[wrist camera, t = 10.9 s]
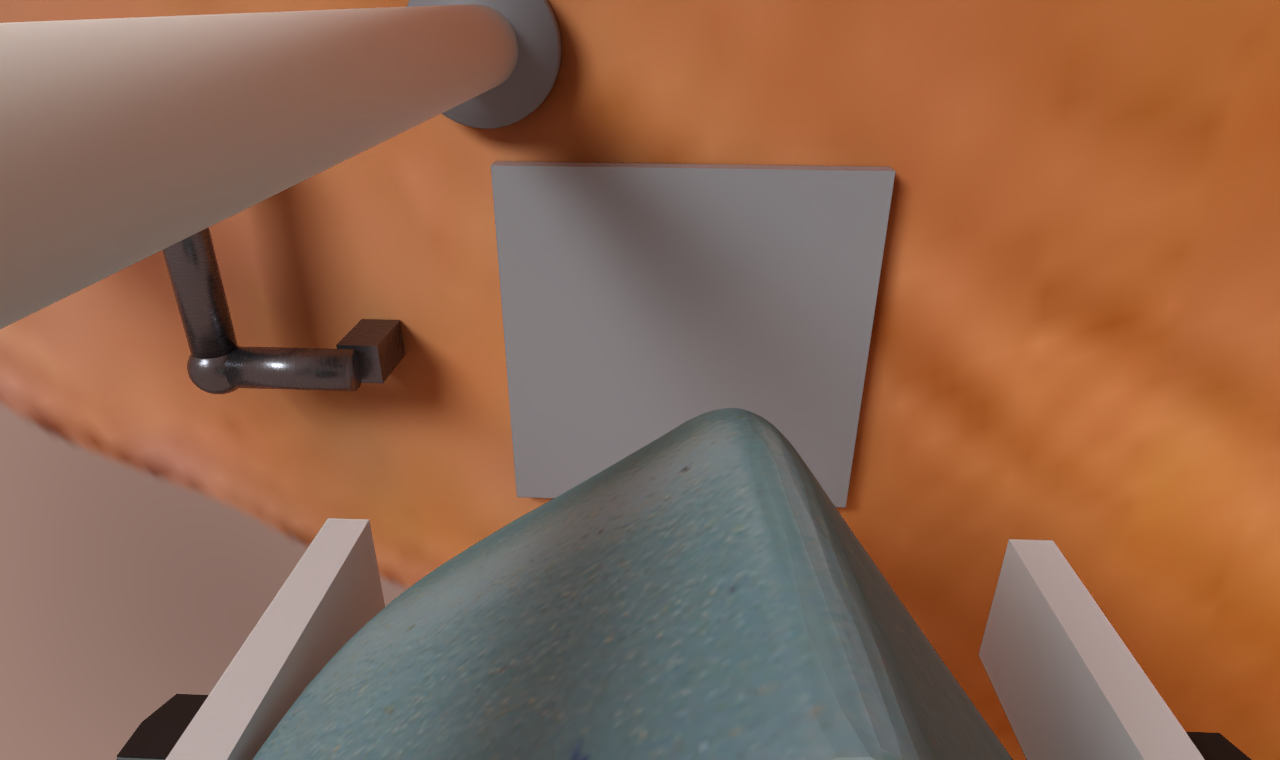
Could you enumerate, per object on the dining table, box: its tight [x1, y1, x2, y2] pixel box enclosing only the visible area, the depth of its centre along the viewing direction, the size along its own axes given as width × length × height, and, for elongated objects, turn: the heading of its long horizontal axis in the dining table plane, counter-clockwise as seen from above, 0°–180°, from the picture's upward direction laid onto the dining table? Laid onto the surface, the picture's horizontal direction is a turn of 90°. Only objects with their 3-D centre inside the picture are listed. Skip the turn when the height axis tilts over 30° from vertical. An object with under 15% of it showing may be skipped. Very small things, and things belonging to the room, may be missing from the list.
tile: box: [491, 161, 895, 508], centre depth 24 cm, size 11×11×1 cm
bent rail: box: [163, 227, 405, 394], centre depth 22 cm, size 8×5×3 cm, turn 0°
